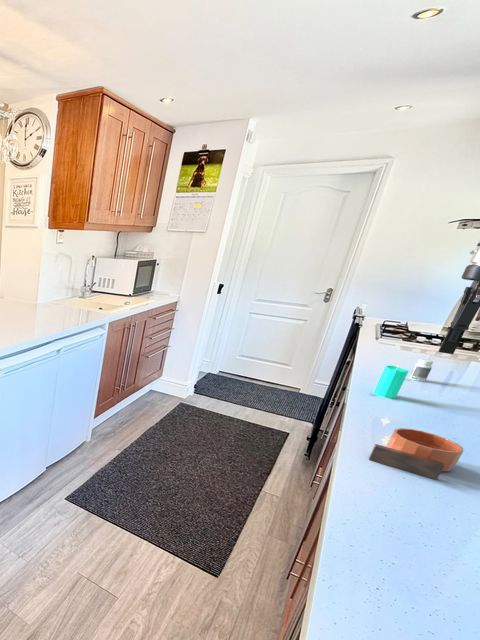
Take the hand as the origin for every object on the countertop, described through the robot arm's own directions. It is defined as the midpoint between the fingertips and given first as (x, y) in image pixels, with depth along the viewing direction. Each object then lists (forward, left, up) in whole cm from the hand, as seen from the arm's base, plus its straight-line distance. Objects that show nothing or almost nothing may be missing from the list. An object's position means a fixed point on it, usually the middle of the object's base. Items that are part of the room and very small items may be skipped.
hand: (445, 352), depth 112 cm
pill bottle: (+10, -70, -25) cm, 75 cm away
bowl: (-6, +22, -24) cm, 34 cm away
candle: (+12, -33, -25) cm, 43 cm away
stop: (-5, +32, -24) cm, 41 cm away
